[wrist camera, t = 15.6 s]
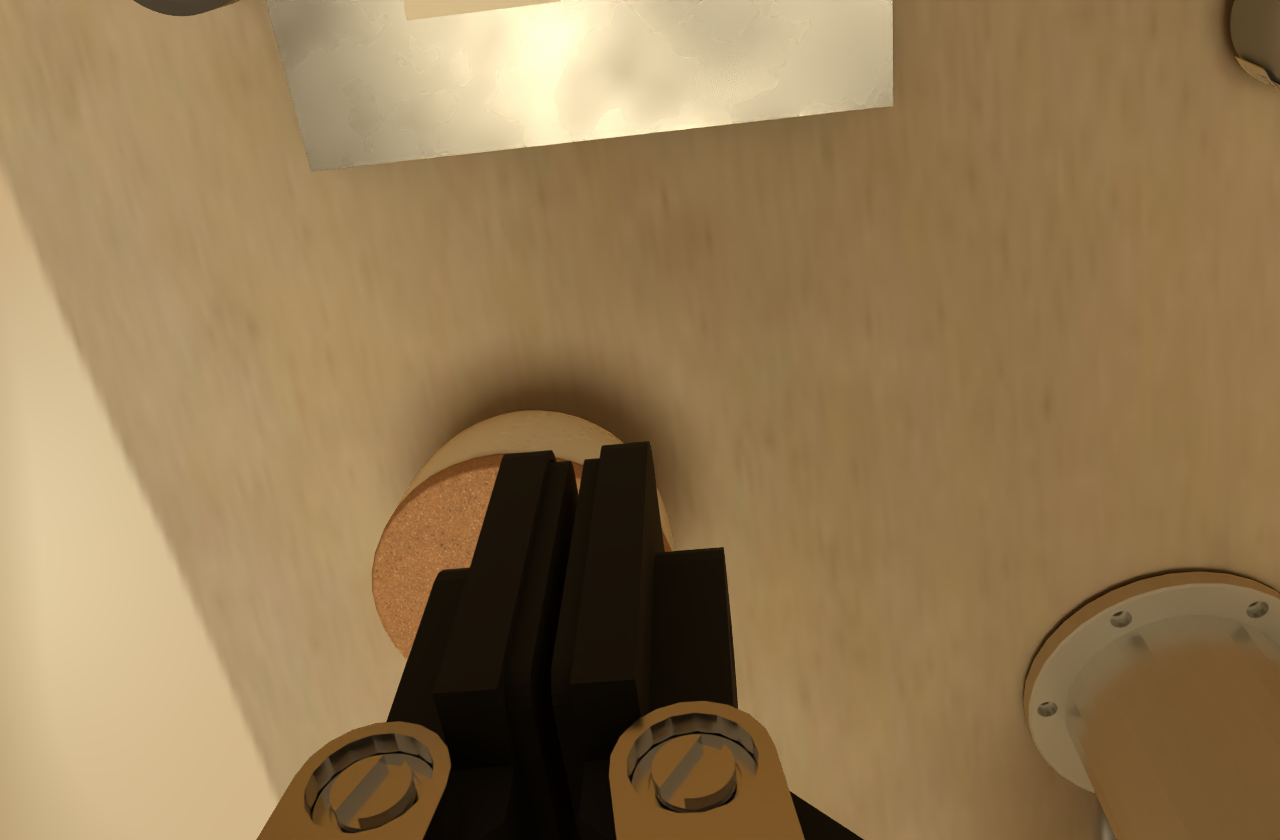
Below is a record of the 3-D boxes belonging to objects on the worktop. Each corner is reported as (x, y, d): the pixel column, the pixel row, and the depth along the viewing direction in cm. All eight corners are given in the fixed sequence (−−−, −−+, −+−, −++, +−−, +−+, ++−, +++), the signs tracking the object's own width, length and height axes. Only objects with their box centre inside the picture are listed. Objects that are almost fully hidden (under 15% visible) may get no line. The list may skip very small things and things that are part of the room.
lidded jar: (407, 362, 41) (339, 487, 33) (682, 370, 41) (683, 498, 33) (428, 584, 46) (374, 742, 38) (673, 592, 46) (673, 753, 38)
